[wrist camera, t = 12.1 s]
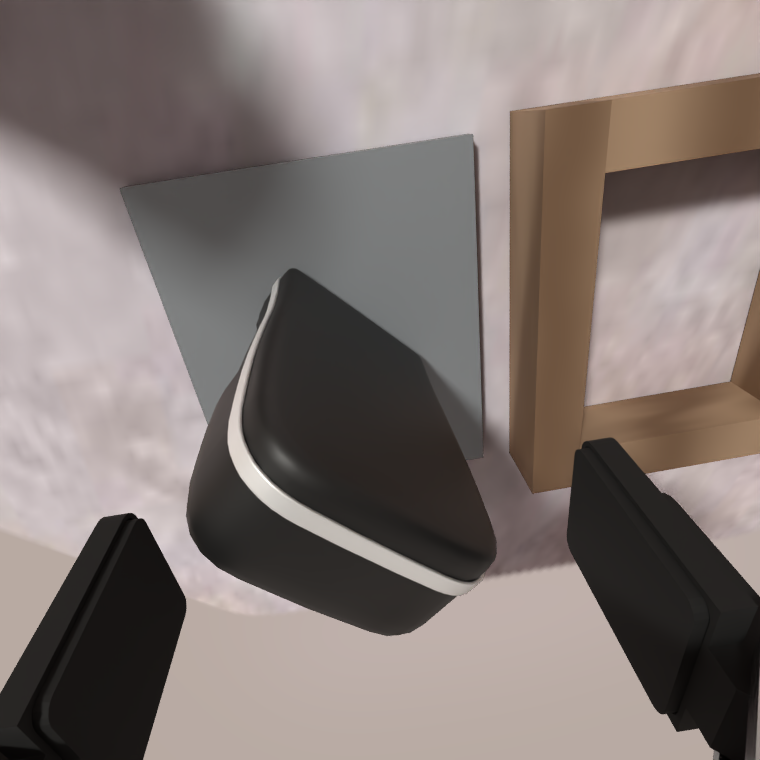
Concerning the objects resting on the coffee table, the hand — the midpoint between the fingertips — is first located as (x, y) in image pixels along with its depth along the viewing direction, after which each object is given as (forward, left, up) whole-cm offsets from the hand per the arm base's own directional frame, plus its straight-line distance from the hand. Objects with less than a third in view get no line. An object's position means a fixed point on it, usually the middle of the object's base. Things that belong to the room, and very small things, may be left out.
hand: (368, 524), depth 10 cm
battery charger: (+1, 0, -10) cm, 10 cm away
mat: (+1, 0, -11) cm, 11 cm away
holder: (-13, 0, -11) cm, 17 cm away
